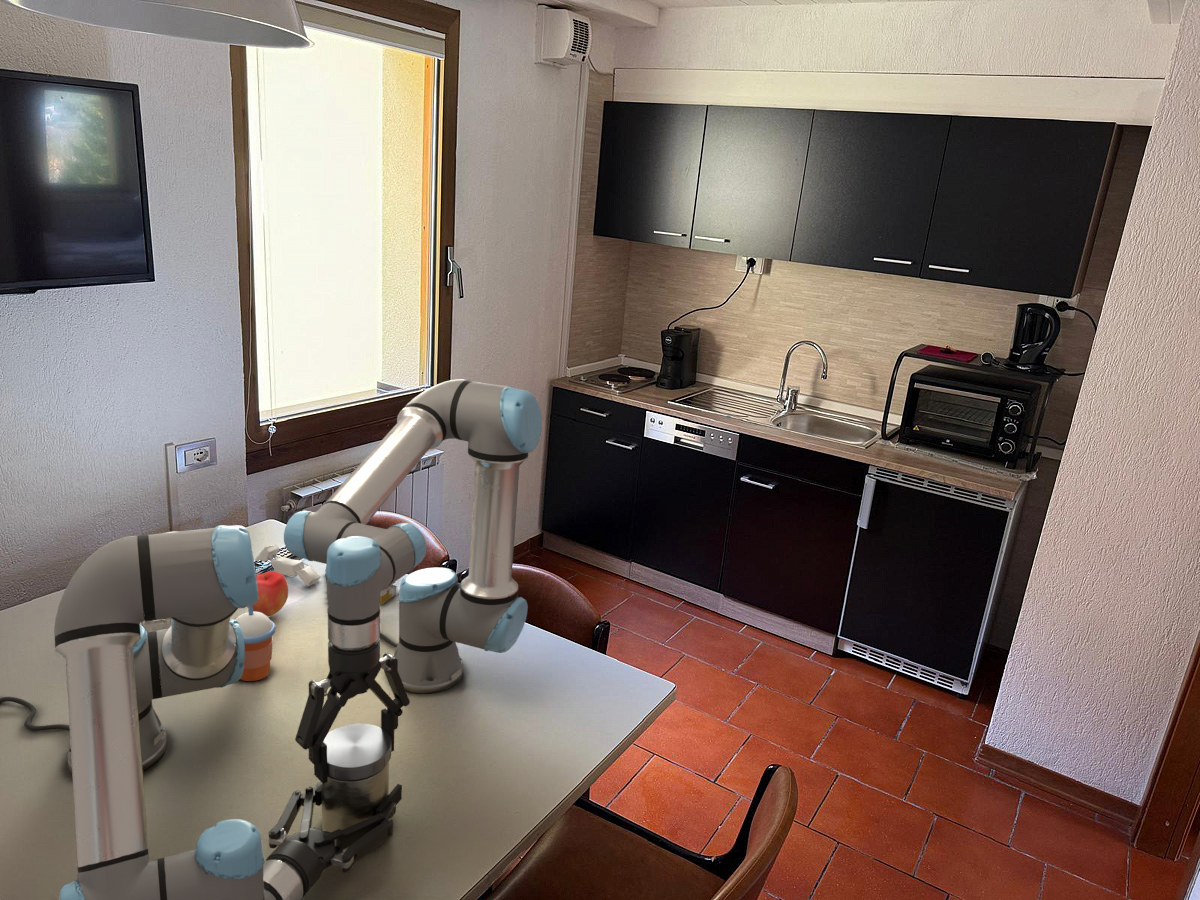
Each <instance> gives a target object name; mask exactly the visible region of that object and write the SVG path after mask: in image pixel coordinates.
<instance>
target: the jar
mask: <svg viewBox="0 0 1200 900" xmlns="http://www.w3.org/2000/svg"><path fill="white" fill-rule="evenodd" d="M389 786H390V761H389V762H388V764H387V765H386V766H385V767H384V768H383V769H382V770H381V771H379V772H378V773H376V774H374V775H372V776H369V777H366V778H362V779H356V780H342V779H337V778H333V777H331V776H329V775H328V782H326V783H324V784H323V783H322V782H321V792H322V804H321V830H322V831H328V832H333V831H335V830H338V829H340V830H344V829H346V828H348V827H350V826H353V825H355V824H357V823H359V822H361V821H364V820H366V819H368V818H370V817H372V816H375V815H376V809H377V808H378V807H379V806H380V804H381V803H382V802H383V801H384V800H385V798H386V797H387V796H388V795H389V794H390V791H389V790H390V787H389ZM335 846H336V840H335ZM347 848H348V847H347ZM347 848H345V849H347Z"/></svg>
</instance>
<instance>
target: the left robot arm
mask: <svg viewBox="0 0 1200 900" xmlns="http://www.w3.org/2000/svg"><path fill="white" fill-rule="evenodd" d="M169 532H170V533H167V532H161V533H152V534H143V535H127V536H123V537H120V538H117V539H114V540H113V541H110V542H108V543H106V544H105V545H102V546H100V547H99V548H98V549H96V550H95V551H94V552H93V553H91V554H90V555H89V556H88V557H87V558H86V559H85V560H84V561H83V562H82V564H80V566H79V567H78V569H77V570H76V571H75V572H74V574H73V575H72V577H71V578H70V580H69V581H68V583H67V586H66V588H65V589H64V591H63V593H62V596H61V599H60V601H59V604H58V608H57V611H56V615H55V616H56V617H55V620H54V627H53V628H54V629H53V630H54V632H53V635H54V651H55V653H57V654H58V655H60V656H62V657H63V658H64V659H65V671H66V672H65V675H66V692H67V707H68V724H69V725H68V724H61V723H59V724H58V723H57V724H46V725H33V724H32V723H31V722H32V720H33V719H34V717H35V715H36V714H37V713H36V712H37V709H36V707H35V706H34V705H33V704H32V703H30V702H29V701H27V700H25V699H22V698H19V697H14V696H2V697H0V704H1V703H5V702H10V703H14V704H15V703H16V704H19V705H21V706H23V707H25V708H26V709H28V710H29V711H30V713H29V714H28V715H27V717H26V719H25V721H24V726H25V728H26V729H27V730H28V731H33V732H40V731H42V732H43V731H52V730H64V731H68V732H69V743H70V745H69V747H68V751H67V755H66V756H67V757H66V758H67V765H68V770H69V771H70V772H71V774H72V791H73V808H74V825H75V826H74V827H75V840H76V858H77V859H76V860H77V878H76V879H74V880H73V881H72V882H69V883H67V884H64V885H63V886H62V887H61V889H60V891H59V898H58V900H302V899H303V898H304V897H305V896H306V895H307V894H308V893H309V891H311V889H312V888H313V887H314V886H315V885H316V883H317V882H318V881H319V879H320V878H321V877H322V874H323V873H324V871H325V870H326V869H329V868H330V867H332V866H333V865H334V866H337V867H341V872H342V873H344V874H347V873H349V872H350V871H351V870H352V869H353V867H354V866H355V864H357V862H358V861H360V860H361V859H363V858H364V857H365V856H367V855H369V854H370V853H371V852H372V851H374V850H376V849H377V848H378V847H379V846H381V845H382V844H383V843H384V842H386V841H387V840H389V839H390V838H391V837H393V836H394V820H393V819H392V818H393V817H394V816H395V814H396V813H397V806H398V804H399V803H400V802H401V801H402V800H403V784H400V783H397V784H396V785H395V786H394V788H393V789H392V790H391V791H389V795H388V796H387V797H386V798H385V800H384V801H383V802H382V803H381V804H380V806H379V807H378V808H377V809H376V815H375V816H372V817H370V818H368V819H366V820H364V821H361V822H359V823H357V824H355V825H353V826H350V827H348V828H346V829H344V830H340V829H338V830H335V831H333V832H328V831H322V829H320V828H318V827H316V826H313V827H312V824H313V823H312V822H313V815H314V805H315V806H317V807H320V806H322V792H321V781H320V780H319V781H318V782H317V783H316V784H315V785H314V786H313V787H312V786H308V787H306V788H305V790H304V792H302V791H301V790H299V789H298V790H294V791H293V792H292V794H291V796H290V798H289V799H288V802H287V804H286V806H285V808H284V810H283V812H282V814H281V816H280V817H279V820H278V821H277V823H276V824H275V825H274V826H273V827H272V828H271V829H270V830H269V831H268V847H269V848H270V849H274V850H273V851H272V852H271V853H270V854H269V855H268V856H267V857H266V859H265V858H264V854H263V846H262V837H261V834H260V832H259V829H258V828H257V826H256V825H254V824H253V823H252V822H250V821H248V820H245V819H242V818H241V819H240V818H230V819H226V820H225V819H224V820H221V821H218V822H216V823H215V824H214V825H213V826H211V827H208V828H207V829H205V830H204V831H203V832H202V833H201V834H200V836H199V837H198V839H197V842H196V845H195V846H196V847H195V849H190V850H186V851H183V852H179V853H176V854H172V855H169V856H164V857H161V858H157V859H154V860H150V853H149V848H150V847H149V834H148V820H147V809H146V808H147V807H146V798H145V797H146V796H145V785H144V771H145V770H146V769H148V768H150V767H152V766H153V765H154V764H155V763H156V762H158V761H159V760H160V759H161V758H162V757H163V755H164V754H165V753H166V750H167V747H168V736H167V731H166V729H165V727H164V725H163V724H162V722H161V720H160V718H159V716H158V714H157V713H156V711H155V708H154V706H153V700H157V699H163V698H167V697H173V696H178V695H183V694H188V693H194V692H200V691H203V690H210V689H216V688H217V689H219V688H224V687H226V686H229V685H233V684H236V683H237V682H239V681H240V680H241V679H240V678H241V676H242V674H243V671H244V661H245V646H244V638H243V633H242V629H241V626H240V624H239V623H238V621H236V620H235V619H234V618H231V617H232V616H233V615H234V614H235V613H236V612H237V611H238V610H239V609H245V608H248V607H247V606H250V605H253V604H255V603H256V602H257V601H258V599H259V597H258V586H257V578H256V575H257V572H256V565H255V559H254V552H253V548H252V540H251V535H250V531H249V530H248V529H247V528H246V527H245V526H244V525H224V524H220V525H216V526H215V527H209V528H199V529H190V530H182V531H181V530H180V531H177V532H173V531H169ZM164 619H170V626H169V628H165V629H164V628H163V629H158V630H152V631H147V629H145V627H144V626H143V625H142V624H141V623H142V622H149V621H151V622H152V621H158V620H164ZM158 656H159V657H158ZM159 668H160V669H159ZM301 807H303V808H302V816H301V821H300V829H299V831H297V832H295V833H293V834H290V835H288V834H289V832H290V830H291V828H292V826H293V823H294V822H295V819H296V817H297V815H298V813H299V811H300V809H301ZM335 840H336V846H335ZM347 847H348V848H347ZM345 848H347V849H345ZM264 859H265V860H264Z"/></svg>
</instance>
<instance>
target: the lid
mask: <svg viewBox="0 0 1200 900" xmlns="http://www.w3.org/2000/svg"><path fill="white" fill-rule="evenodd" d="M323 742H324V743H325V744H326V745H327V775H329V776H331V777H333V778H337V779H342V780H356V779H362V778H366V777H369V776H372V775H374V774H376V773H378V772H379V771H381V770H382V769H383V768H384V767H385V766H386V765H387V764H388V762H389V763H390V760H392V759H391V758H392V752H391V751H392V742H391V738H390V736H389V734H388V733H387V732H386V731H385V730H384V729H382V728H381V726H378V725H375V724H371V723H362V722H361V723H350V724H345V725H342V726H339V727H336V728H334V729H333V730H331V731H329V732H328V734H327V736H326V737H325V739H324V741H323Z"/></svg>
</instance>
